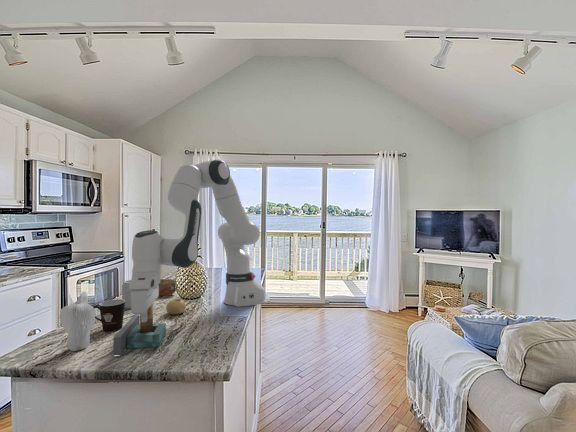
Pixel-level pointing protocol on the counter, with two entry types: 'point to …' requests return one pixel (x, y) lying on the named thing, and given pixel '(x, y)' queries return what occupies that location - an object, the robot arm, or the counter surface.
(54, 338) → the counter surface
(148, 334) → the block
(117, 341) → the wall
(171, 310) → the onion
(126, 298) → the can
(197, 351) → the counter surface
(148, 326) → the dowel
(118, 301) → the coffee mug
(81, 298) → the shell sculpture
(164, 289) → the tin
